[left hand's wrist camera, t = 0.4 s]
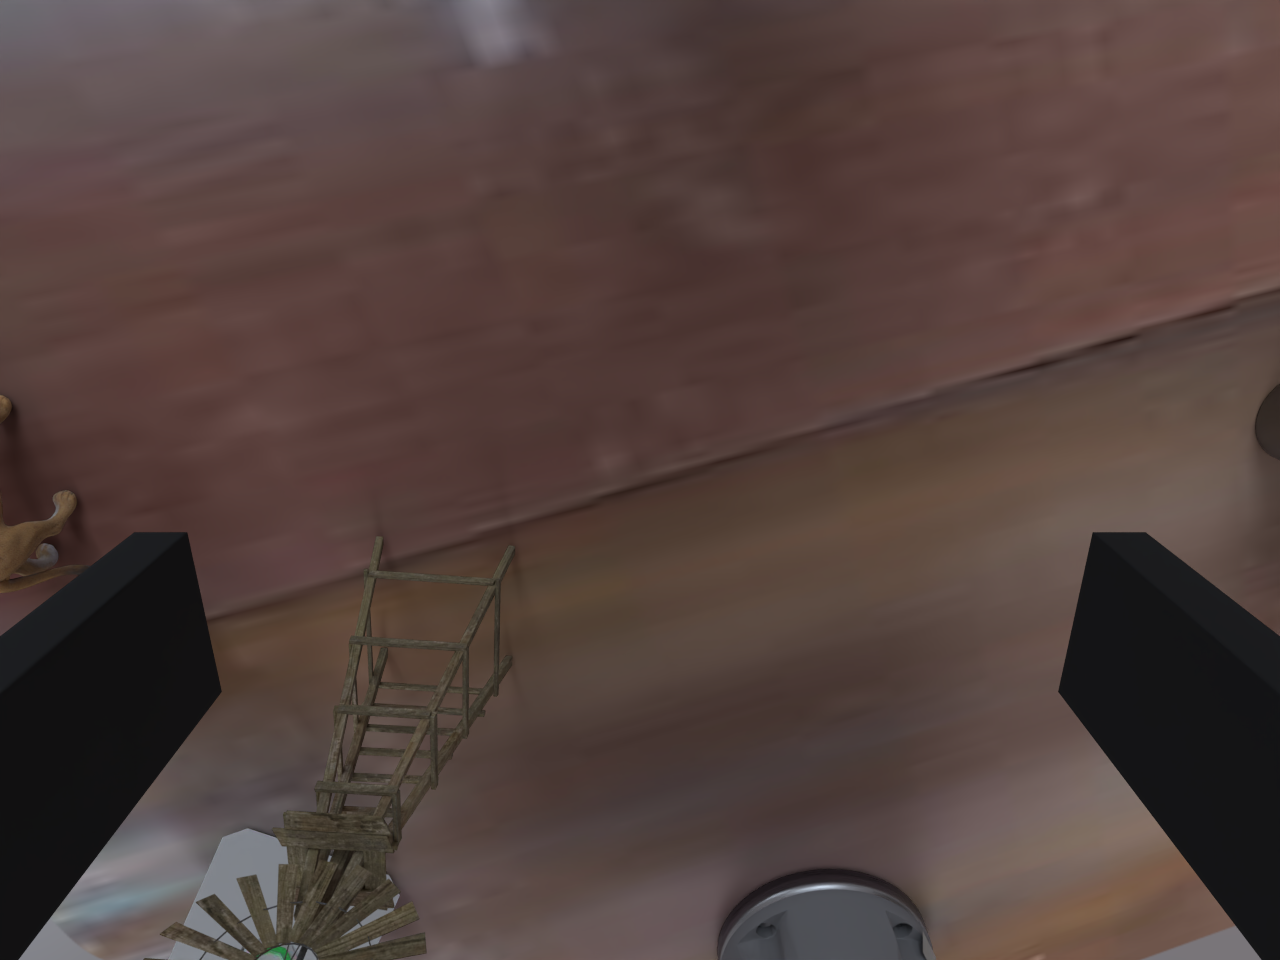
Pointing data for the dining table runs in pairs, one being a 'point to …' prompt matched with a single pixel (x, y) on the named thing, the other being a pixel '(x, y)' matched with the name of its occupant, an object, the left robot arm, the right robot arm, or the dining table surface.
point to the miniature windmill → (358, 808)
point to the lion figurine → (33, 540)
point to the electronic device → (233, 861)
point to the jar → (1270, 424)
